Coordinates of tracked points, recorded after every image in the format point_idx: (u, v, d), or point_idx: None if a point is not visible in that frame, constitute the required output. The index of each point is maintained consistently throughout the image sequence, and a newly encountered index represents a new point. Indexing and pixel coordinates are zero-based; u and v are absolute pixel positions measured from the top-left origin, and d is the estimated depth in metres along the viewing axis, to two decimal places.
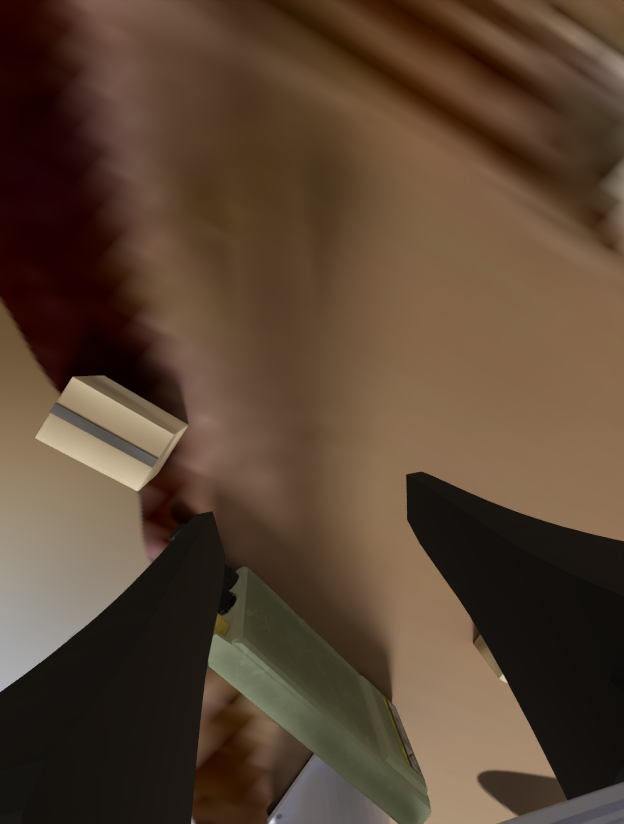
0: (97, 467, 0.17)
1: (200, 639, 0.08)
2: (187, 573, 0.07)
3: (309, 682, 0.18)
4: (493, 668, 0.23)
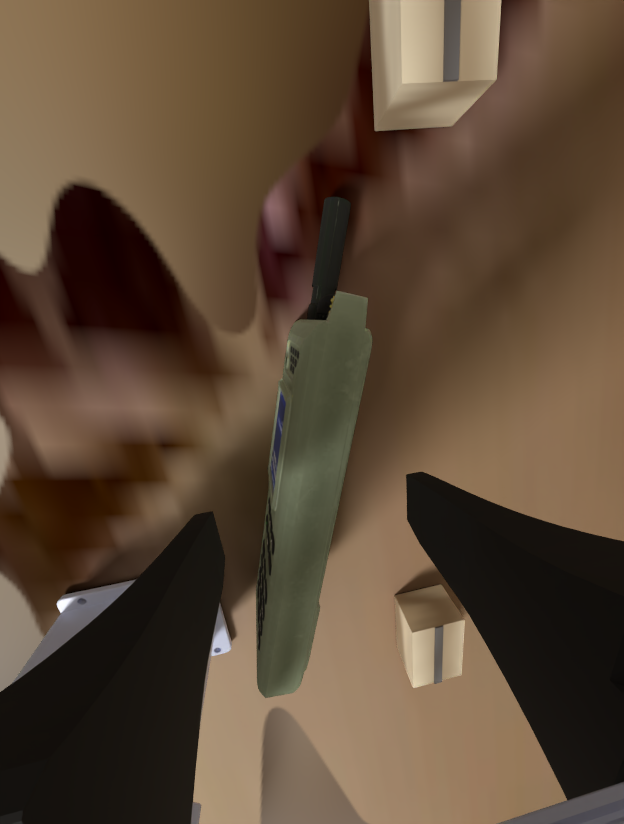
0: None
1: (200, 639, 0.08)
2: (187, 573, 0.07)
3: None
4: (409, 622, 0.21)
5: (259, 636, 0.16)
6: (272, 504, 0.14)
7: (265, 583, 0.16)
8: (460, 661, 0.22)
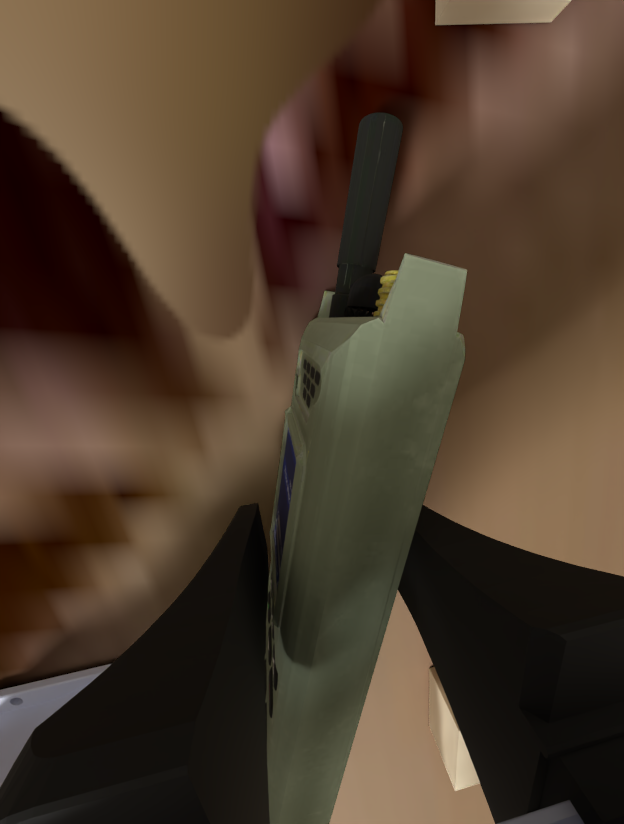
0: None
1: (259, 625, 0.08)
2: (248, 561, 0.08)
3: None
4: None
5: None
6: (274, 617, 0.08)
7: None
8: None
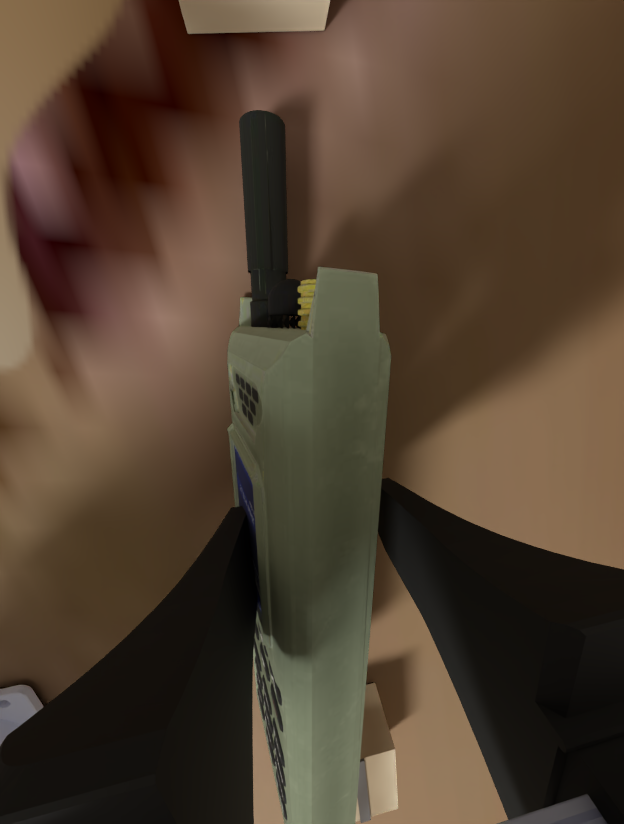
0: None
1: (247, 628, 0.08)
2: (236, 563, 0.08)
3: None
4: None
5: (282, 797, 0.11)
6: (264, 639, 0.08)
7: (275, 727, 0.11)
8: (394, 794, 0.17)
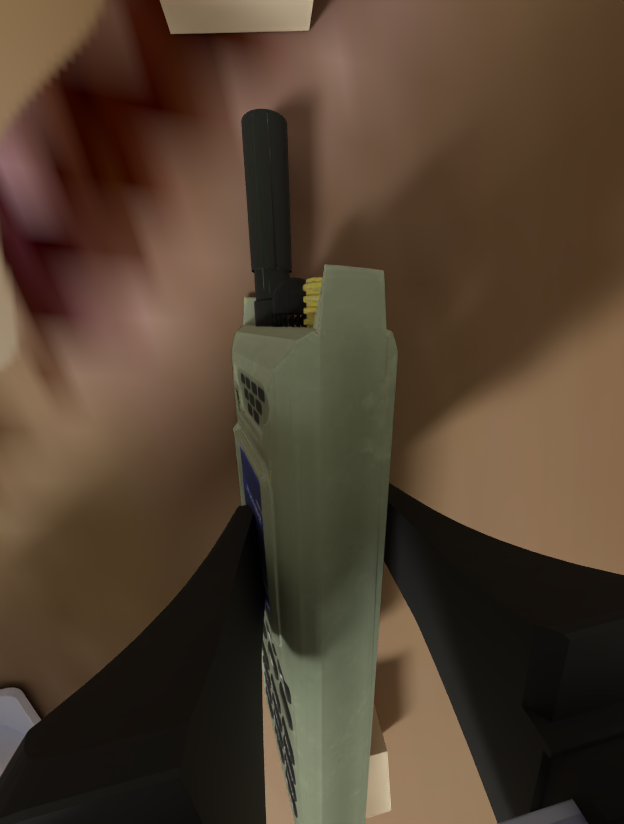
0: None
1: (256, 626, 0.08)
2: (245, 561, 0.08)
3: None
4: None
5: (292, 795, 0.11)
6: (272, 638, 0.08)
7: (284, 726, 0.11)
8: (387, 796, 0.17)
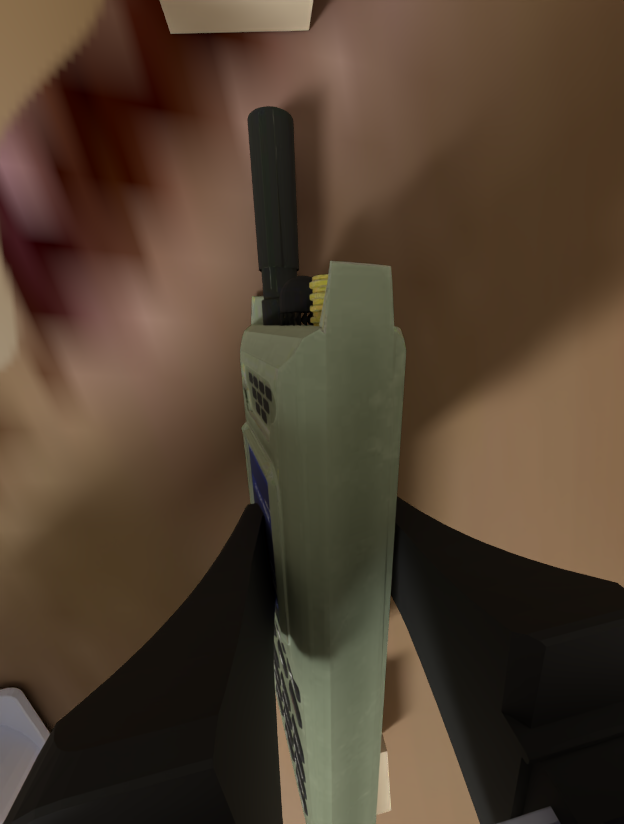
0: None
1: (268, 623, 0.08)
2: (258, 558, 0.08)
3: None
4: None
5: (302, 793, 0.11)
6: (281, 636, 0.08)
7: (293, 724, 0.11)
8: (387, 796, 0.17)
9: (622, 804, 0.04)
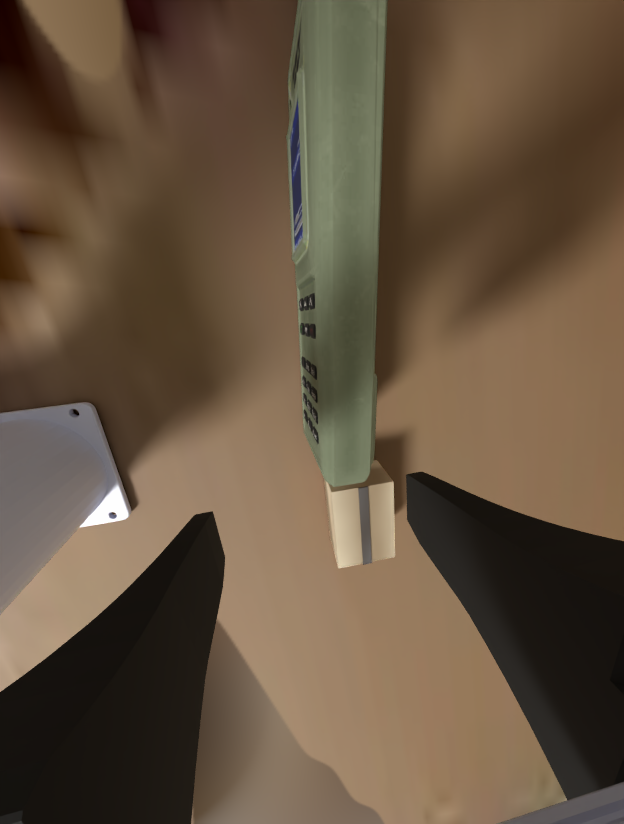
0: None
1: (200, 639, 0.08)
2: (187, 573, 0.07)
3: None
4: (331, 486, 0.19)
5: (315, 431, 0.15)
6: (303, 236, 0.12)
7: (312, 366, 0.14)
8: (392, 538, 0.20)
9: None
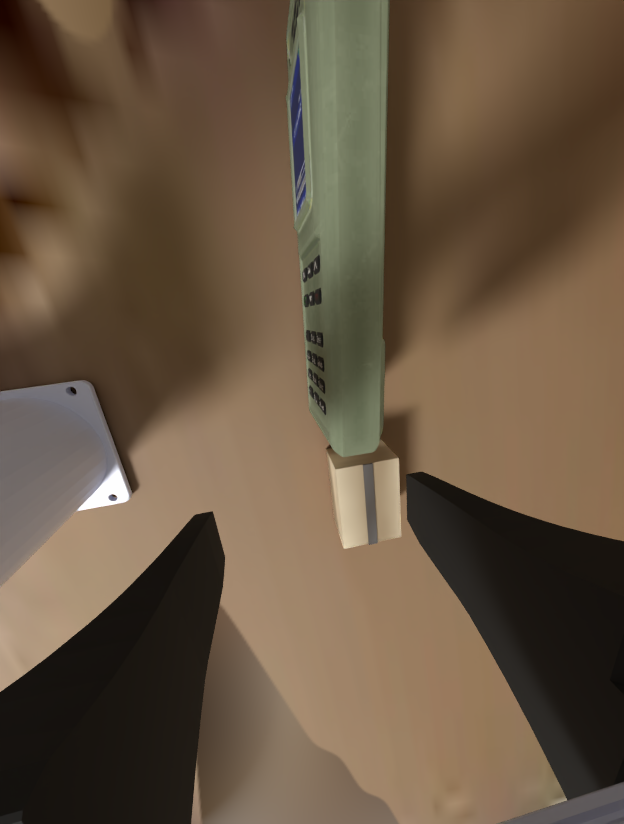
0: None
1: (200, 639, 0.08)
2: (187, 573, 0.07)
3: None
4: (335, 463, 0.18)
5: (323, 402, 0.14)
6: (307, 195, 0.12)
7: (317, 334, 0.14)
8: (398, 517, 0.19)
9: None
